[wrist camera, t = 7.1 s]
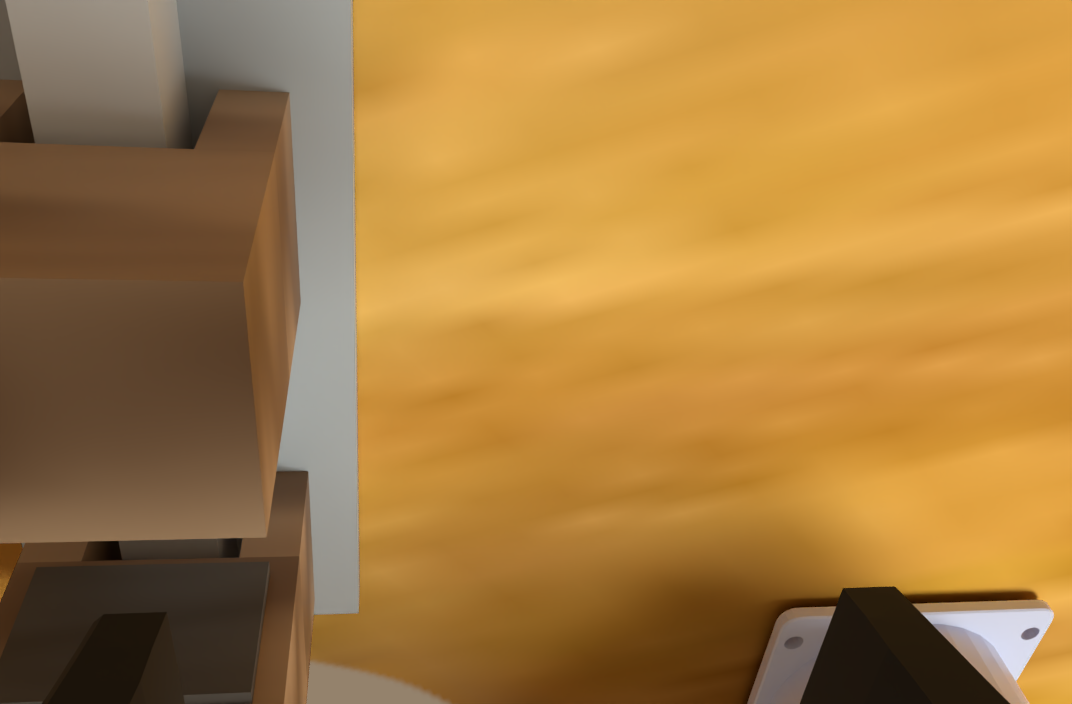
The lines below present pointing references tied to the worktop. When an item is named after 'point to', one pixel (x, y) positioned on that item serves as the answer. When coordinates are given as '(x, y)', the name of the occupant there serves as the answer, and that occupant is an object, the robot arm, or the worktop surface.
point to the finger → (174, 609)
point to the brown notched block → (146, 327)
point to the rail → (176, 122)
